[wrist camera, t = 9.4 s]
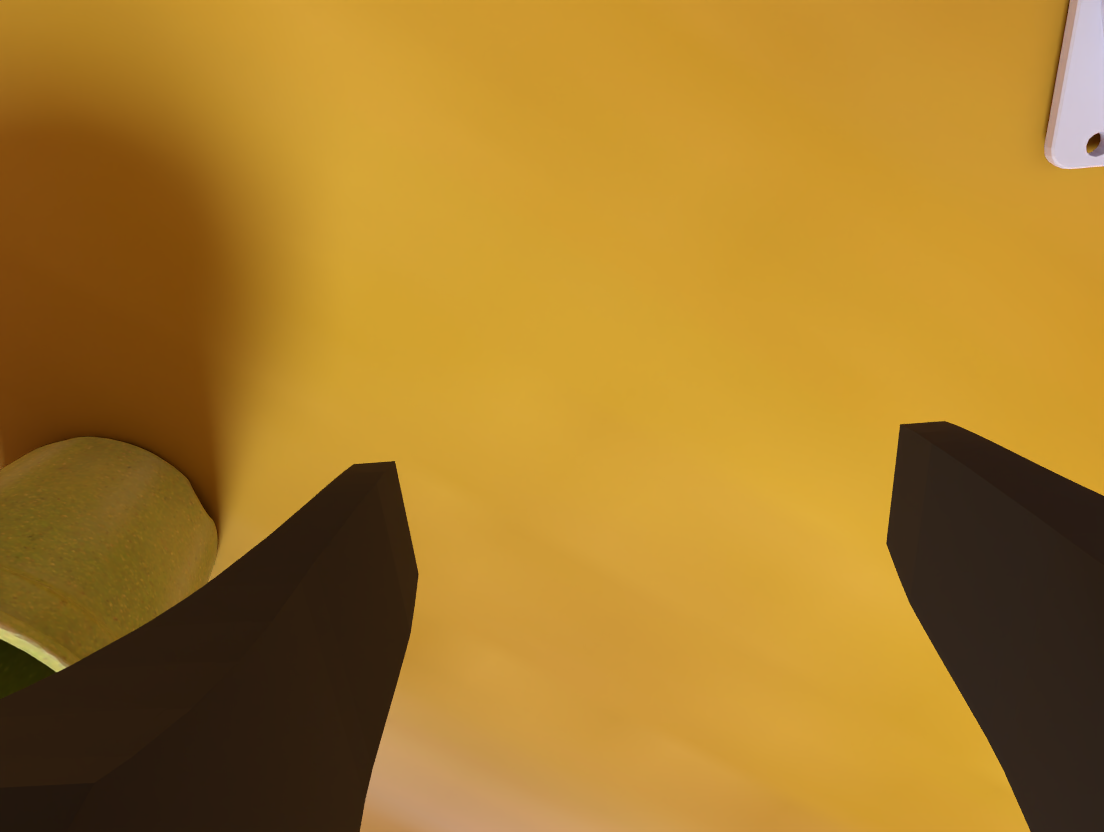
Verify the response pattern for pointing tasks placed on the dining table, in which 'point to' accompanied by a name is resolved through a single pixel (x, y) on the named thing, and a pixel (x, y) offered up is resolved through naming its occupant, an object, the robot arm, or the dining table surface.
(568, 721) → the dining table surface
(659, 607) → the dining table surface
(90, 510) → the plant pot
